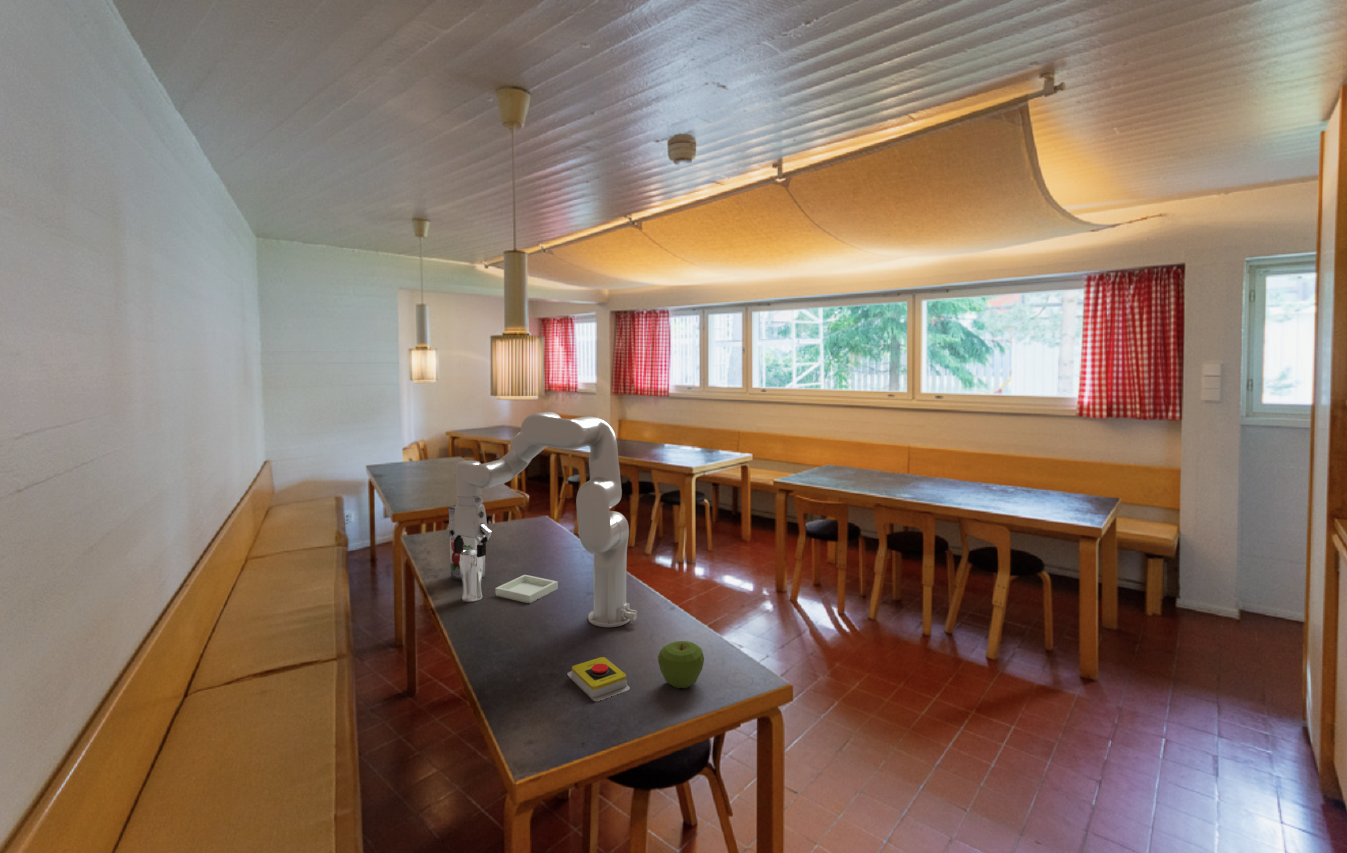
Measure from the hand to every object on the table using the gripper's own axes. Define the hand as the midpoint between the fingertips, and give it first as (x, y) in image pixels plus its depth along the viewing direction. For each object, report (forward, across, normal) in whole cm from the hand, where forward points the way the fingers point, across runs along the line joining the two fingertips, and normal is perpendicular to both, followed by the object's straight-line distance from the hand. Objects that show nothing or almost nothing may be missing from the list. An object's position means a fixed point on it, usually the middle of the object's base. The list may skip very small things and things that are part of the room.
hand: (469, 553), depth 185 cm
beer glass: (+15, -1, 0) cm, 15 cm away
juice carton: (+15, +14, -13) cm, 24 cm away
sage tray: (+14, -13, -12) cm, 23 cm away
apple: (+13, -82, +16) cm, 84 cm away
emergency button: (+14, -64, +24) cm, 70 cm away
